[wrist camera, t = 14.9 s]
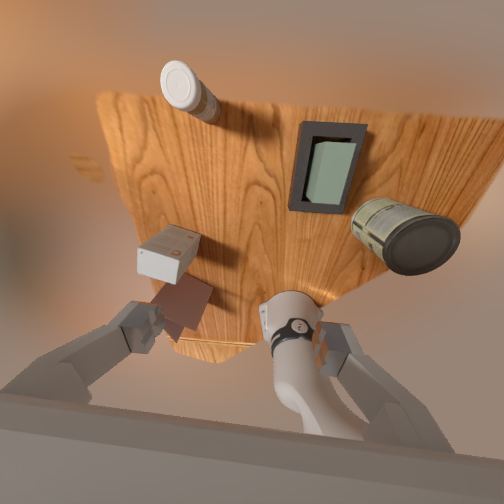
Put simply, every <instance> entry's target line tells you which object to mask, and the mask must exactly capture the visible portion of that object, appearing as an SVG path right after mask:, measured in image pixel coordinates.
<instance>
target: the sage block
mask: <svg viewBox="0 0 504 504" xmlns="http://www.w3.org/2000/svg"><path fill="white" fill-rule="evenodd" d="M355 146H356V143H340V142H322V143H318V144H314V145H312V150H311V156H310V161H309V167H308V172H307V178H306V183H305V189H304V194H305V195H306V196H307V197H308V198H309V199H310V201H311V202H312V203H323V204H337V205H339V204H340V200H341V197H342V193H343V189H344V186H345V182H346V179H347V175H348V171H349V168H350V164H351V161H352V157H353V154H354V150H355Z"/></svg>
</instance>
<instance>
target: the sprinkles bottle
mask: <svg viewBox="0 0 504 504" xmlns="http://www.w3.org/2000/svg"><path fill="white" fill-rule="evenodd" d="M161 88H162V92H163V94H164V96H165V98H166V99H167V101H168V102H169V103H170V104H171V105H172V106H174V107H175V108H177V109H179V110H181V111H184V112H187V113H189V114H190V115H192V116H194V117H196V118H198V119H200V120H202V121H203V122H205V123H207V124H212V123H215V122H216V121H217V120H218V119H219V117H220V113H221V108H220V103H219V101H218V99H217V98H216V97H215V96H214V95H213V94H212V93H211V92H210V90H209V89H208V88H207V87H206V86H205V85H204V84H203V83H202V82H201V81H200V80H199V79H198V77H197V76H196V74H195V73H194V72H193V70H192V69H191V68H190V67H189V66H188V65H186V64H185V63H183V62H181V61H177V60H176V61H171V62H169V63H167V64H166V65H165V67H164V68H163V70H162V73H161Z"/></svg>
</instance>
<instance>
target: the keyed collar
mask: <svg viewBox="0 0 504 504" xmlns="http://www.w3.org/2000/svg"><path fill="white" fill-rule="evenodd" d="M367 127H368V124H354V123H335V122H316V121H302V122H301V123H300V124H299V131H298V138H297V145H296V152H295V159H294V166H293V172H292V179H291V186H290V193H289V200H288V208H289V211H301V212H315V213H328V214H342V213H343V210H344V206H345V203H346V199H347V196H348V192H349V189H350V185H351V182H352V179H353V175H354V172H355V168H356V165H357V161H358V158H359V154H360V151H361V147H362V144H363V141H364V137H365V134H366V130H367ZM312 138H320V139H337V140H343V143H356V146H355V150H354V154H353V157H352V161H351V164H350V168H349V171H348V175H347V179H346V182H345V186H344V189H343V193H342V197H341V200H340V204H339V205H337V204H323V203H312V202H311V201H310V199H309V198H302V194H303V188H304V183H305V177H306V171H307V166H308V160H309V155H310V149H311V143H312Z"/></svg>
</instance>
